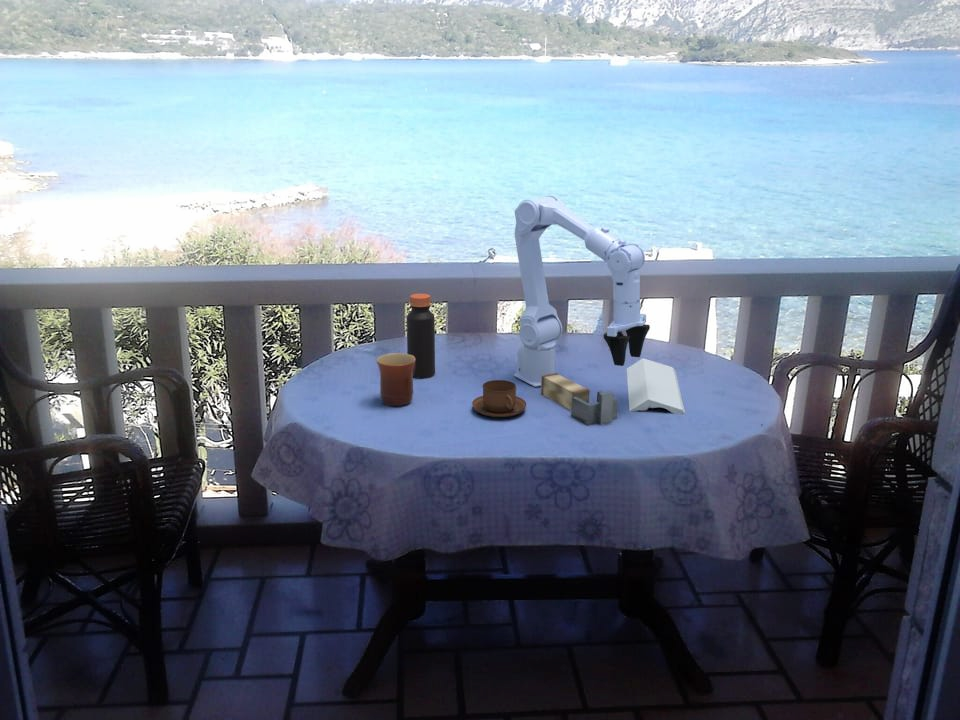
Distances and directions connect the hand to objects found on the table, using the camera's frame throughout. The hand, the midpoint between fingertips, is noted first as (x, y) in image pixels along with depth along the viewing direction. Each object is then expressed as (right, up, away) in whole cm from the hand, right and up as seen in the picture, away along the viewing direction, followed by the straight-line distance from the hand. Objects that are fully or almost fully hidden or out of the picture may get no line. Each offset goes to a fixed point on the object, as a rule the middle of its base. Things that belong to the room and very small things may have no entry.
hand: (627, 360), depth 197 cm
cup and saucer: (-28, -11, 0) cm, 31 cm away
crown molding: (+9, -8, +13) cm, 18 cm away
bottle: (-47, -4, +22) cm, 52 cm away
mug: (-51, -9, +6) cm, 52 cm away
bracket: (-8, -12, -4) cm, 15 cm away
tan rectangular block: (-13, -9, +6) cm, 17 cm away
